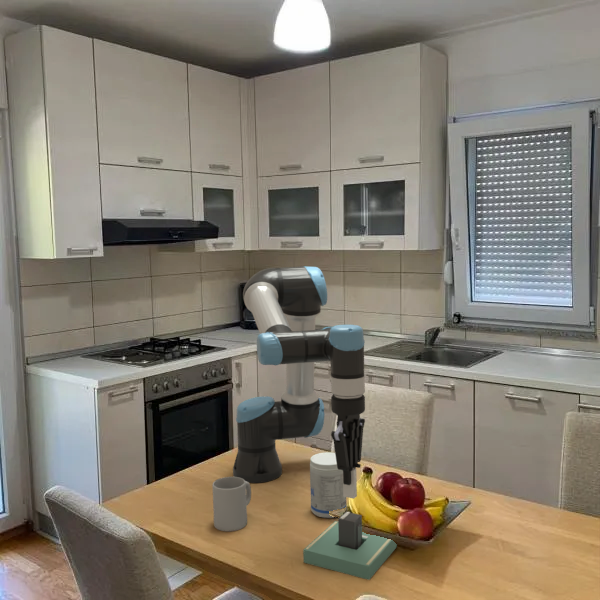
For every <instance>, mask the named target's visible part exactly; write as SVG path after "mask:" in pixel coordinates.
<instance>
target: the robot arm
mask: <svg viewBox="0 0 600 600" xmlns="http://www.w3.org/2000/svg"><path fill="white" fill-rule="evenodd" d="M242 299H243V302H244V305H245V307H246V309H247V310H248V311H250V312H251V314H252V316H253V319H254V322H255V324H256V327H257V329H258V331H259V334H258V335H257V338H256V353H257V354H256V355H257V360H258V362H259V363H260V364H261V365H263V366H264V365H265V366H279V365H285V366H286V368H285V369H286V370H285V371H286V372H285V376H286V377H285V381H286V382H285V384H286V385H285V390H284V391H283V392H282V393H281V395H280V396H281V397H280V400H279V401H275V399H274V398H273V397H272V396H267V395H266V396H264V395H263V396H257V397H256V396H255V397H251V398H248V399H245V400H244V401H241V402H240V403H239V404H238V405H237V407H236V417H235V421H236V426H237V428H236V430H237V431H236V432H237V434H236V435H237V452H236V453H237V454H236V456H235V460H234V464H233V467H232V475H233V476H232V477H239V478H242V479H244V480H245V481H247V482H248V483H249V484H250V483H251V484H257V483H267V482H271V481H274V480H276V479H278V478H280V477H281V475H282V474H283V465H282V462H281V460H280V457H279V454H278V451H277V448H276V440H279V441H280V440H287V439H288V440H290V439H299V438H309V437H314V436H318V435H319V434H320V433H321V432H322V430H323V427H324V425H325V424H324V422H325V414H326V413H325V404H324V402H323V399H322V398H320V397H319V396H320V395H319V394H318V392H317V391H315V363H317V362H318V363H319V362H320V363H321V362H330V364H329V365H330V379H329V382H330V391H331V392H330V393H331V394H332V395H331V397H330V399H331V400H330V404H331V405H330V407H331V411H332V413H333V414H335V415H336V416H337V418H336V430H335V431H334V430H332V431H331V433H330V436H331V438H332V441H333V446H334V453H335V455H336V462H337V468H338V469H339V470H343V497H346V498H349V499H355V498H357V497H358V494H357V493H358V490H357V489H358V486H357V485H358V484H357V469H359V468H361V466H362V464H360V463H361V461H362V449H363V448H362V447H363V438H364V437H363V435H364V427H365V424H366V423H365V422H366V419H365V418H362V417H361V415H362V414H363V413H365V410H366V396H365V395H364V394H365V392H366V386H365V385H366V383H365V382H366V381H365V338H364V330H363V327H361V326H360V325H356V324H338V325H334V326H326V327H323V328H322V329H316V318H317V317H318V315H321V312H322V310H321V309H322V308H321V307H323V306H326V305H327V303H328V288H327V283H326V280H325V275H324V273H323V272H322V270H321V269H320V268H319V267H317V266H306V265H303V266H302V265H301V266H283V267H268V268H264V269H261V270H259V271H258V272H256V273H255V274H253V275H252V276H251V277H250V278H249V279H248V280H247V282H246V283H245V285H244V288H243V292H242Z"/></svg>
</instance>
